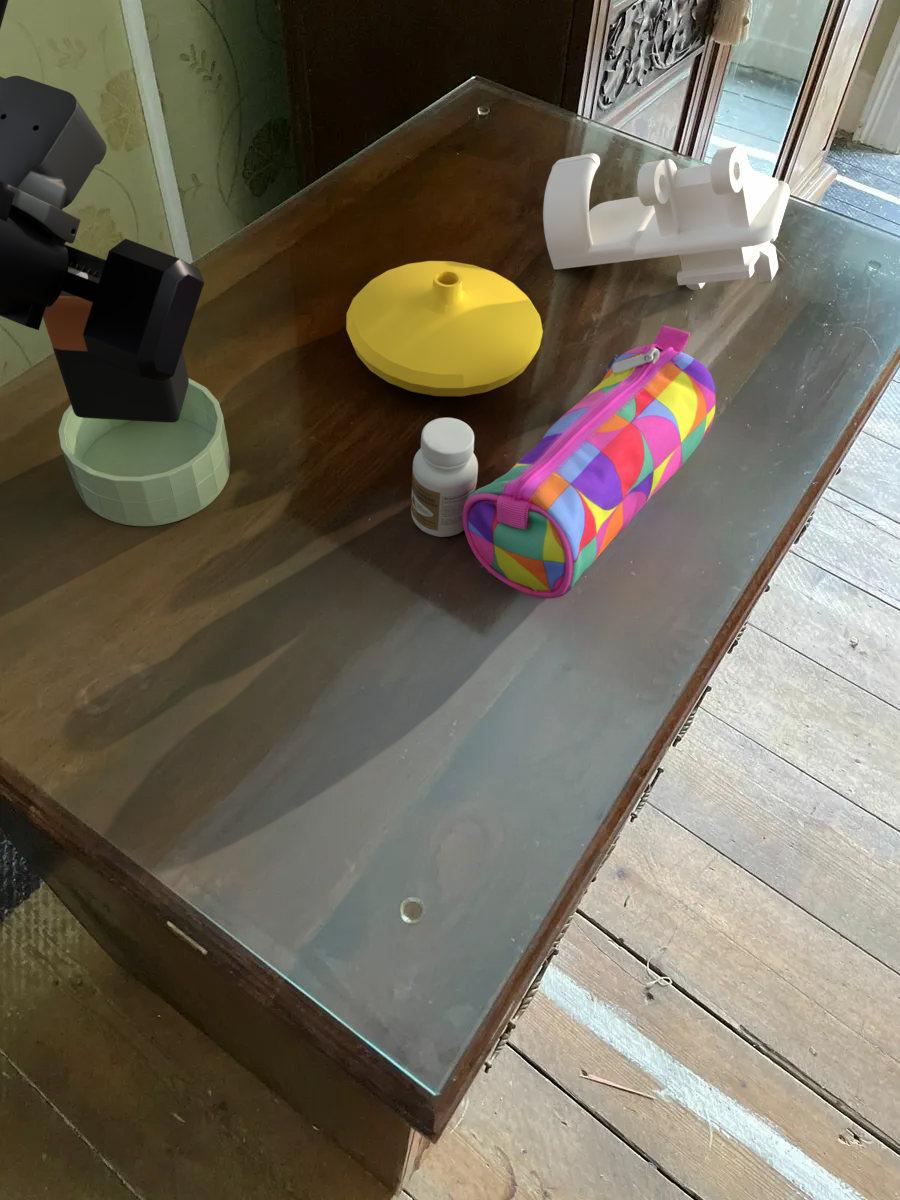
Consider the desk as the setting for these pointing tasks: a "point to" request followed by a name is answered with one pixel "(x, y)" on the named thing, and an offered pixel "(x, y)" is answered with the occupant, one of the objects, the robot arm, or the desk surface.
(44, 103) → the robot arm
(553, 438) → the pencil case
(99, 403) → the battery
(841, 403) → the desk surface
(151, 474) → the bowl
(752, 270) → the tape dispenser
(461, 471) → the pill bottle
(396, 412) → the desk surface
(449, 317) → the vase
